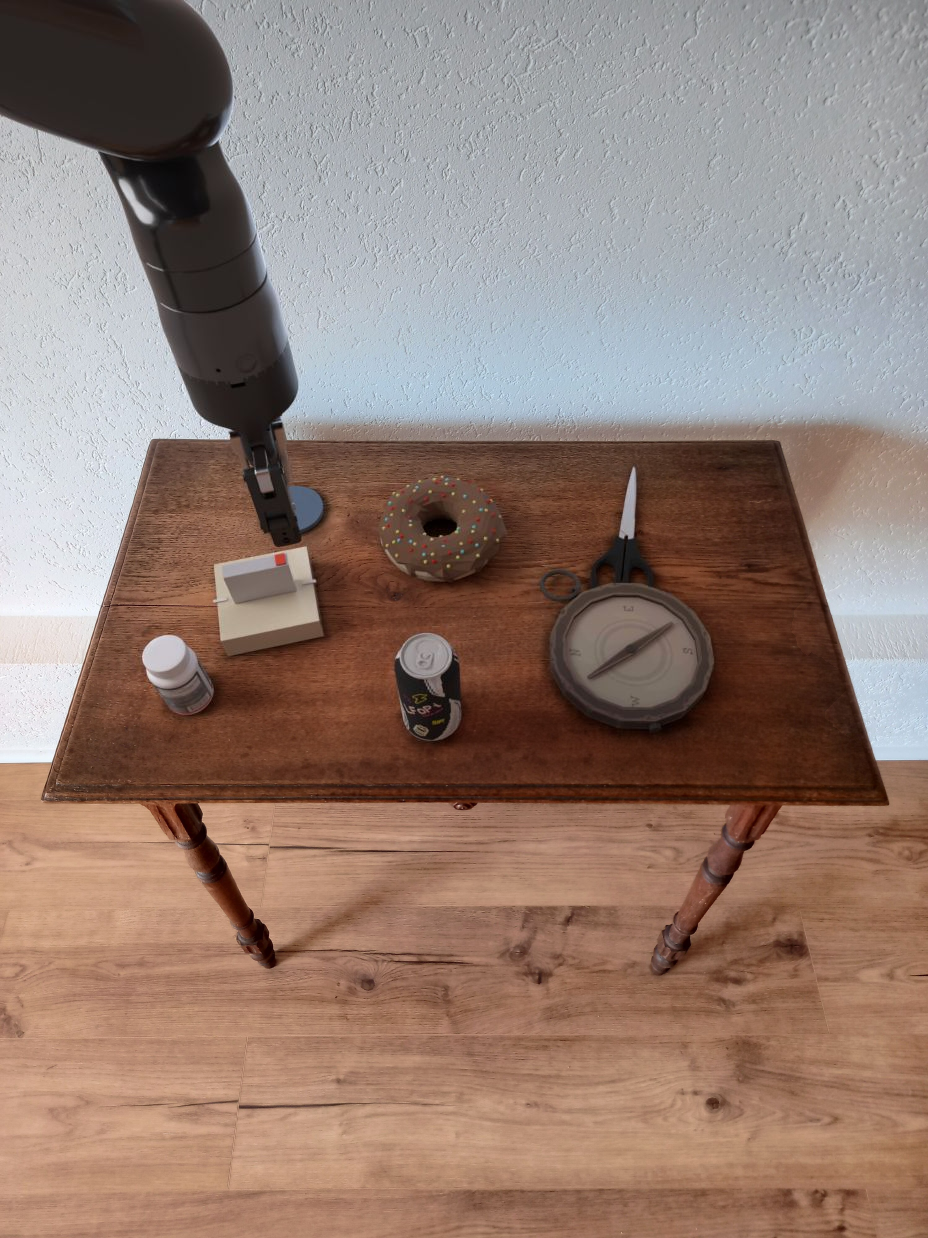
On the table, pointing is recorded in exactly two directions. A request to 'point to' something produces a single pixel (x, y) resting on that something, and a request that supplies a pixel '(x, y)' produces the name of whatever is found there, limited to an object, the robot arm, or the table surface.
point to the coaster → (306, 507)
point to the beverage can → (429, 686)
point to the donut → (445, 553)
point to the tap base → (270, 610)
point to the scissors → (617, 550)
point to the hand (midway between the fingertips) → (281, 503)
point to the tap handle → (259, 578)
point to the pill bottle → (177, 675)
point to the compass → (628, 654)
